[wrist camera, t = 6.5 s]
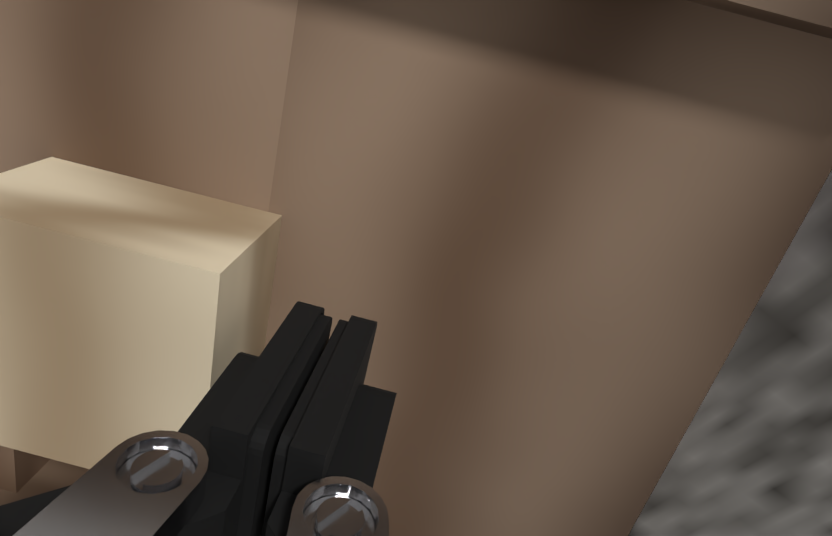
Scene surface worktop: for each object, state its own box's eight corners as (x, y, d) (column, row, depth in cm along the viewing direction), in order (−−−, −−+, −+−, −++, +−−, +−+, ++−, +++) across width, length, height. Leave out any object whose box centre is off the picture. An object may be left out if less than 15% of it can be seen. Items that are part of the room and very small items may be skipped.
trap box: (836, 12, 12) (992, 9, 8) (549, 584, 19) (562, 721, 15) (-520, -346, 12) (-960, -504, 8) (-293, 348, 19) (-478, 425, 16)
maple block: (281, 214, 12) (220, 273, 9) (256, 405, 14) (199, 498, 11) (51, 156, 12) (-76, 197, 9) (59, 353, 14) (-43, 434, 12)
